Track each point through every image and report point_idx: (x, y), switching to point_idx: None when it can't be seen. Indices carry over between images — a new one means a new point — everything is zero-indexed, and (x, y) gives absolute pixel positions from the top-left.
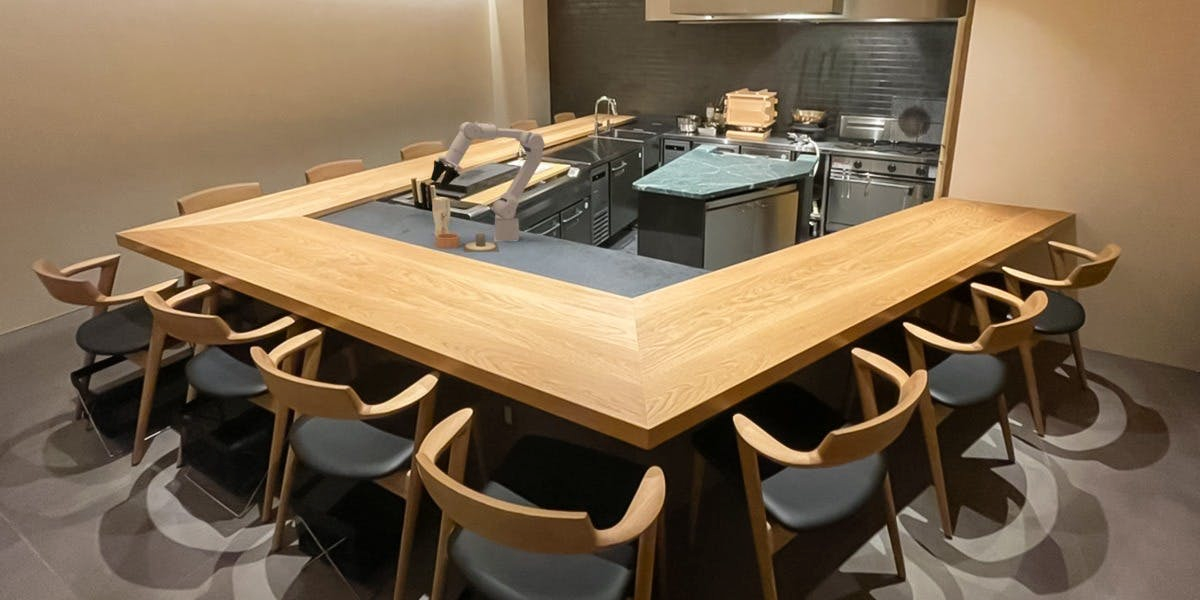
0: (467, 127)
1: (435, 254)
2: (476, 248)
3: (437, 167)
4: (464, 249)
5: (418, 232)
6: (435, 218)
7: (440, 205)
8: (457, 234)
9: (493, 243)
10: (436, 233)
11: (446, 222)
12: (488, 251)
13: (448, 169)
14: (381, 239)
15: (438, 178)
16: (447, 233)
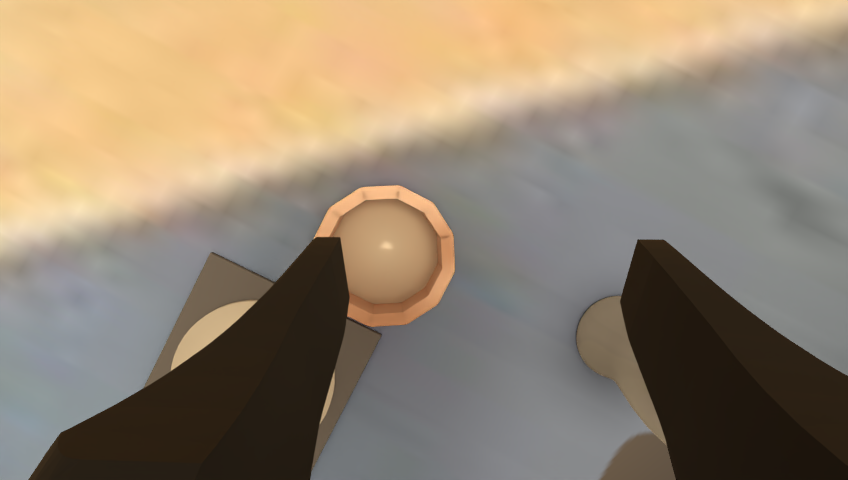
0: None
1: (258, 112)
2: (202, 329)
3: (750, 425)
4: (256, 282)
5: (744, 258)
6: None
7: None
8: (389, 324)
9: None
10: (616, 302)
11: (612, 371)
12: (156, 370)
13: (87, 426)
14: (699, 14)
15: (639, 364)
16: (441, 285)
